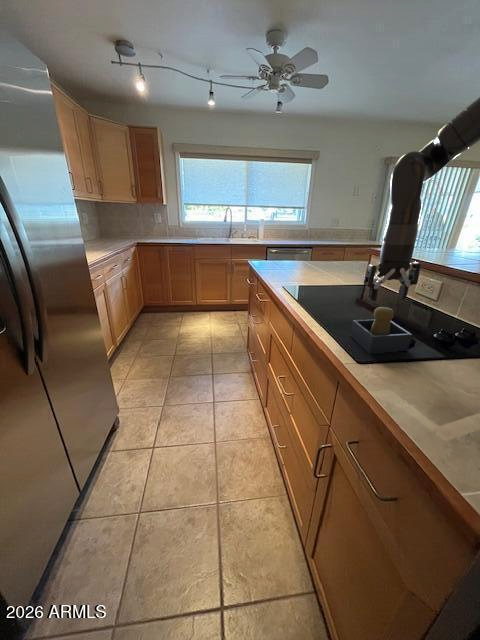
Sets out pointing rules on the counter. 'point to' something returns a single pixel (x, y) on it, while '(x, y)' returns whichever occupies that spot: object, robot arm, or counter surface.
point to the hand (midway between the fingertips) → (386, 299)
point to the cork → (382, 321)
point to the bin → (380, 337)
